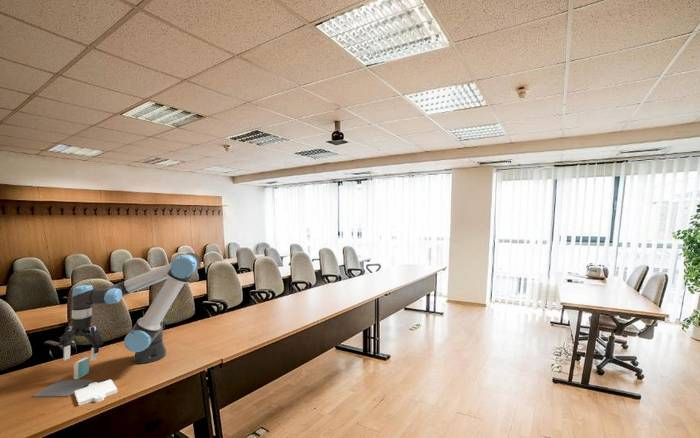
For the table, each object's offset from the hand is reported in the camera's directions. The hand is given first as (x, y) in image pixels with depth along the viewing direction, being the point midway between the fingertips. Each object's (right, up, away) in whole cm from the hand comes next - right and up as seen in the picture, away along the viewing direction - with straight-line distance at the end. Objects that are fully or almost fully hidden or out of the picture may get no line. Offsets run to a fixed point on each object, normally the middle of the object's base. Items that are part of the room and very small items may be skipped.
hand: (80, 359), depth 147 cm
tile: (0, -8, 0) cm, 8 cm away
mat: (+3, -8, -11) cm, 14 cm away
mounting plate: (+21, -9, -15) cm, 27 cm away
